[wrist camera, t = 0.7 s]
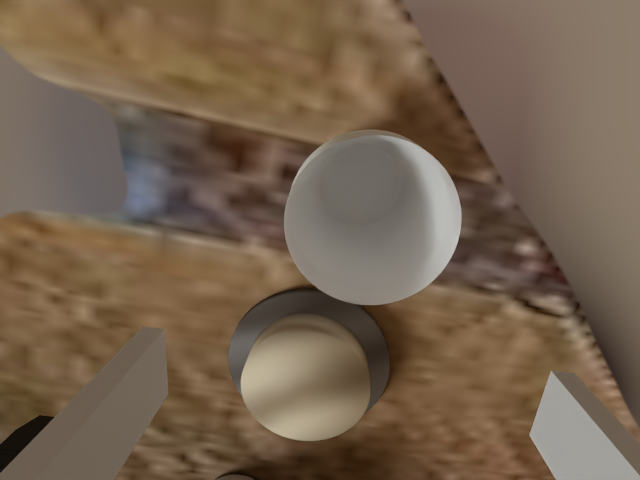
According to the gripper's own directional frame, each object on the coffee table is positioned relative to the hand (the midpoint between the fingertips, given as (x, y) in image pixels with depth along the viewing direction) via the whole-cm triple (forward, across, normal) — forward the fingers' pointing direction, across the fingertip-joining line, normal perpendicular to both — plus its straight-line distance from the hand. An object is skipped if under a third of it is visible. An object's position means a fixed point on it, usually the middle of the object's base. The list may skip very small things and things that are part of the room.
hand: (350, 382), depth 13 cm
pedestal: (+19, -2, -13) cm, 23 cm away
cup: (+19, +1, +4) cm, 19 cm away
